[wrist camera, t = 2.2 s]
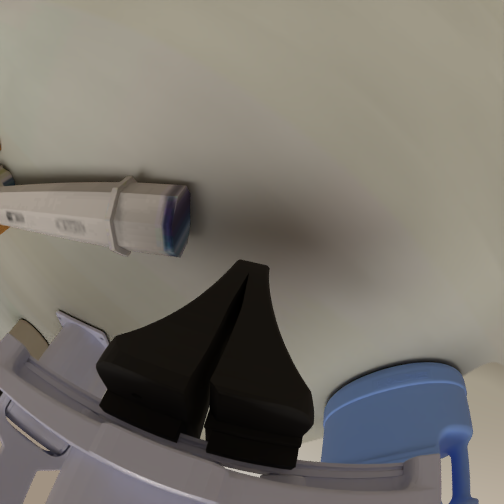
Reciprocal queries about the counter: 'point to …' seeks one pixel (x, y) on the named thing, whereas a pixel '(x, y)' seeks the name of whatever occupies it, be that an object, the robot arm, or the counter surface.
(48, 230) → the electric toothbrush
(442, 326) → the counter surface
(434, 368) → the water jug
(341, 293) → the counter surface
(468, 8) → the counter surface
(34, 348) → the travel mug
